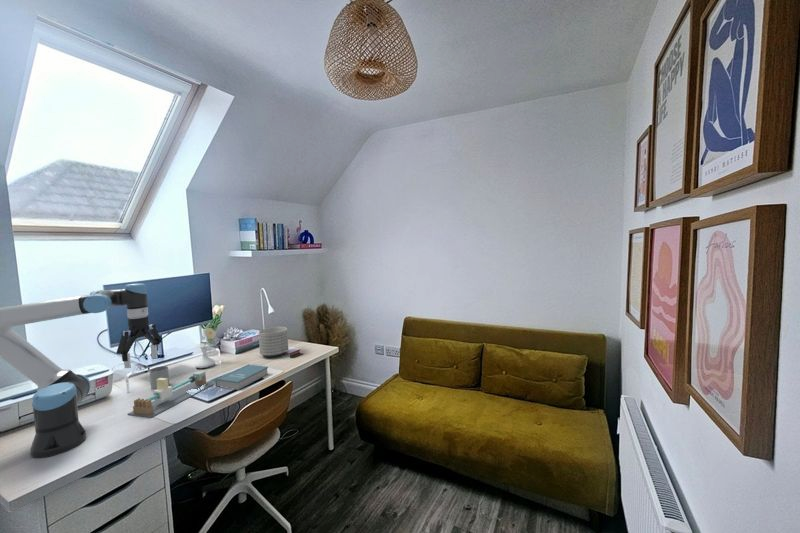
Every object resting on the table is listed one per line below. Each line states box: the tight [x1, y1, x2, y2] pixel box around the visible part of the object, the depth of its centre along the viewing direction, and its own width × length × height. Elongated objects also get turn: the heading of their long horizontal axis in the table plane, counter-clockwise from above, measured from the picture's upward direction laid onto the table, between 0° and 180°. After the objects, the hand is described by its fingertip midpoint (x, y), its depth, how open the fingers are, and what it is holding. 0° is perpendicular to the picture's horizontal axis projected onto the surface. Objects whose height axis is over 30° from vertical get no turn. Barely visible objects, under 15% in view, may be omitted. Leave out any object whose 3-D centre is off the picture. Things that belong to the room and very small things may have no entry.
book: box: [215, 363, 269, 391], centre depth 187 cm, size 23×16×5 cm
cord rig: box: [127, 370, 215, 419], centre depth 165 cm, size 36×14×7 cm, turn 166°
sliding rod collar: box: [152, 378, 173, 401], centre depth 159 cm, size 6×5×10 cm
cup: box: [149, 365, 170, 390], centre depth 181 cm, size 8×8×10 cm
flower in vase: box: [195, 327, 217, 369], centre depth 210 cm, size 13×11×25 cm
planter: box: [258, 326, 289, 358], centre depth 229 cm, size 19×19×18 cm
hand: (141, 362), depth 150 cm, fingers open, 12 cm apart
